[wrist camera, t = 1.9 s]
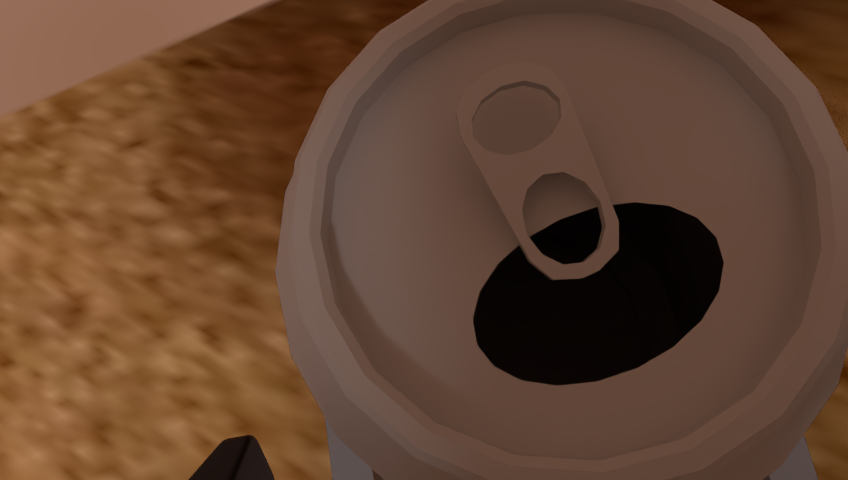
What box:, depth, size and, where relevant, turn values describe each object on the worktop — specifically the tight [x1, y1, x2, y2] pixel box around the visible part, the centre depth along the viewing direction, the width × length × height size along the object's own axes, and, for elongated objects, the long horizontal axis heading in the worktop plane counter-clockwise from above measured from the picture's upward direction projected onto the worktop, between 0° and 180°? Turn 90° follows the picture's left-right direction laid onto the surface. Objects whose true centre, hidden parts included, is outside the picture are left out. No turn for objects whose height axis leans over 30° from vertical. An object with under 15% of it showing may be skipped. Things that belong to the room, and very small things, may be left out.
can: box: [275, 0, 848, 480], centre depth 13 cm, size 8×8×12 cm
